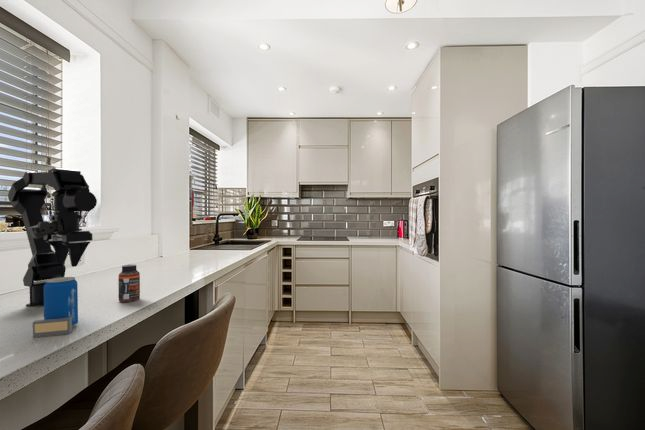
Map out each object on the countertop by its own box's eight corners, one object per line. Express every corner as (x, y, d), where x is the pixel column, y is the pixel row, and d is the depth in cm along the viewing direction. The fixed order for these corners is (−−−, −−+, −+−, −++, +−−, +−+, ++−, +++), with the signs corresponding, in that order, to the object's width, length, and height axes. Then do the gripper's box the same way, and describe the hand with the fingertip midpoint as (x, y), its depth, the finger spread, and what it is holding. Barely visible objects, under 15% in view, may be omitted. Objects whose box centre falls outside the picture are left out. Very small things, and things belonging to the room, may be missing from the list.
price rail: (32, 337, 74) (32, 322, 74) (36, 335, 75) (35, 320, 75) (69, 334, 76) (69, 319, 76) (71, 332, 77) (71, 317, 77)
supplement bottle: (130, 303, 102) (129, 267, 102) (113, 302, 103) (113, 266, 103) (144, 298, 108) (143, 264, 107) (128, 297, 109) (128, 263, 109)
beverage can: (59, 333, 76) (58, 282, 76) (37, 332, 78) (36, 281, 78) (84, 324, 83) (83, 276, 83) (63, 322, 84) (62, 276, 84)
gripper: (20, 212, 94) (21, 266, 94) (43, 211, 84) (44, 272, 84) (67, 212, 103) (68, 261, 103) (92, 211, 93) (93, 266, 93)
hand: (67, 265), depth 96 cm, fingers open, 9 cm apart
